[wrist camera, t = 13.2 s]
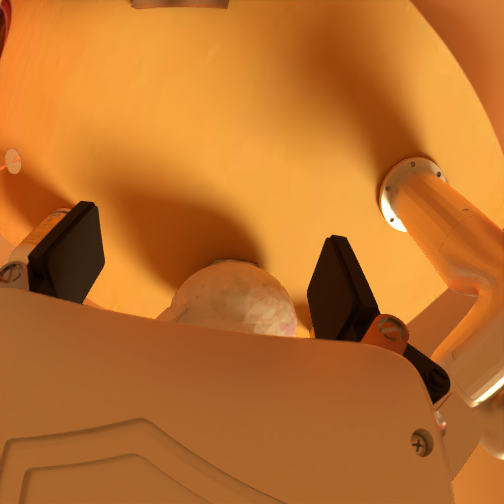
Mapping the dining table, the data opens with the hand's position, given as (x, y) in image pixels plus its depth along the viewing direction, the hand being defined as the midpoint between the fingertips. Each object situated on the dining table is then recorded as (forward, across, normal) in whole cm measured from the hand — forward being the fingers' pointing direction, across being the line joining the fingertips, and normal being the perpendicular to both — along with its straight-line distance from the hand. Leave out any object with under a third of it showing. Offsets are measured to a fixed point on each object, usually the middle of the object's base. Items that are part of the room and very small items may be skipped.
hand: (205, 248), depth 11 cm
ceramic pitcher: (+28, -2, +26) cm, 39 cm away
